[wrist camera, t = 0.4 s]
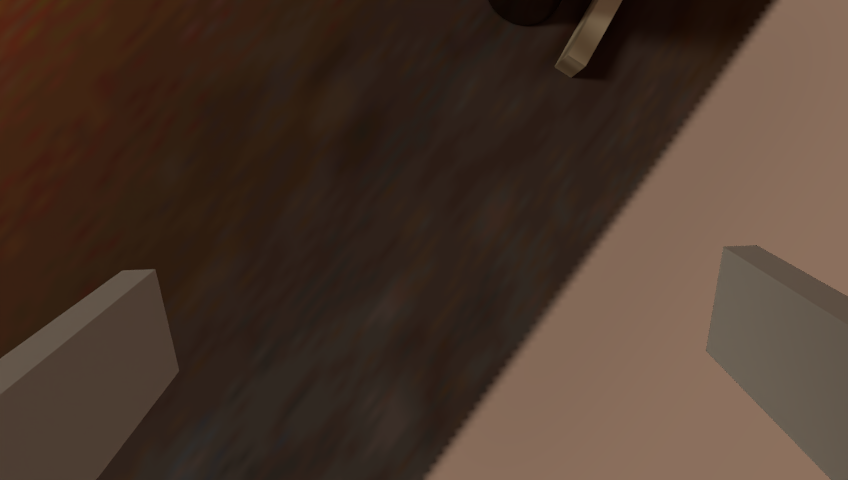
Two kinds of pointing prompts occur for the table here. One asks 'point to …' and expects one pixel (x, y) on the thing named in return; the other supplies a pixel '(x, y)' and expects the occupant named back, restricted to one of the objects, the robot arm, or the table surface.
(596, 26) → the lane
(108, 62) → the table surface
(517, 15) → the beer glass
